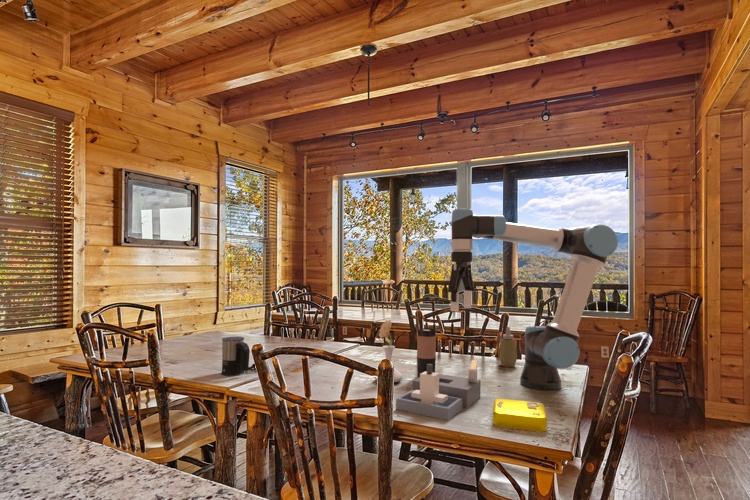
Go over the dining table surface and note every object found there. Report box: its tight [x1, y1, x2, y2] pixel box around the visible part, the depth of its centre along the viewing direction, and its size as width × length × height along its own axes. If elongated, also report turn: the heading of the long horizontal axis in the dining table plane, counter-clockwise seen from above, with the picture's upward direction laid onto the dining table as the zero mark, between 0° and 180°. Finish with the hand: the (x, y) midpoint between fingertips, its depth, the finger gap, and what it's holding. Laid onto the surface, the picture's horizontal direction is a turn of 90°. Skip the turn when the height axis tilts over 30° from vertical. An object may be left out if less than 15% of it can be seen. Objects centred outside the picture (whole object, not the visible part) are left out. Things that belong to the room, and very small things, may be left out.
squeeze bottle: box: [498, 326, 518, 368], centre depth 205 cm, size 8×8×18 cm
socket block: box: [411, 373, 482, 409], centre depth 155 cm, size 20×14×6 cm
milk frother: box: [220, 336, 256, 377], centre depth 187 cm, size 14×16×15 cm
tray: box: [395, 389, 463, 421], centre depth 142 cm, size 18×12×4 cm, turn 59°
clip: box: [467, 359, 478, 383], centre depth 161 cm, size 18×3×4 cm, turn 165°
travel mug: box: [416, 327, 437, 378], centre depth 181 cm, size 8×8×20 cm
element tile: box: [492, 398, 548, 433], centre depth 134 cm, size 15×15×5 cm
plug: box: [411, 364, 448, 405], centre depth 143 cm, size 4×11×14 cm, turn 59°
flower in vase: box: [373, 319, 403, 384], centre depth 175 cm, size 13×11×25 cm
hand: (461, 309), depth 160 cm, fingers open, 13 cm apart
